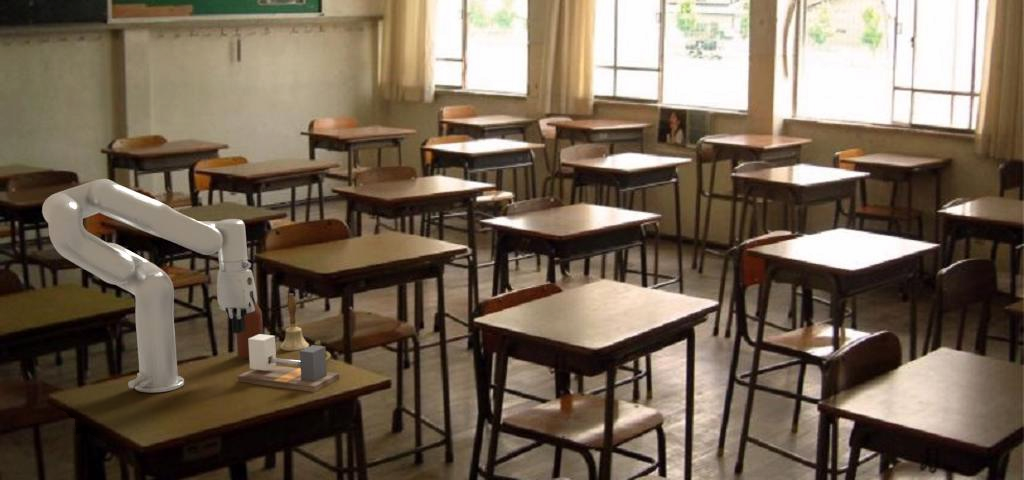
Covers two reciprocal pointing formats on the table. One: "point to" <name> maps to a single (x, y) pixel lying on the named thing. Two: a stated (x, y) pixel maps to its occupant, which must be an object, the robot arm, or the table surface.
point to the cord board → (286, 378)
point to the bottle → (249, 332)
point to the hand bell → (293, 330)
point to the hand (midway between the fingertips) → (239, 331)
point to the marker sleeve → (261, 351)
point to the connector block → (313, 363)
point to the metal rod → (284, 361)
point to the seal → (328, 355)
